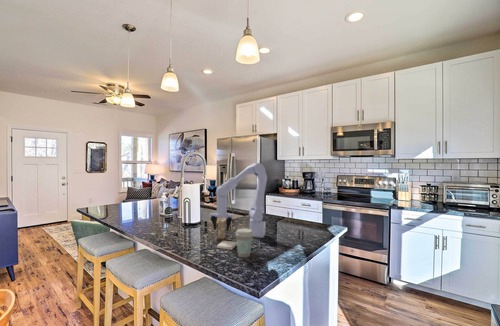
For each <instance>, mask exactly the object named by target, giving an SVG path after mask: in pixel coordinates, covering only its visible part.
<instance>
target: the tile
mask: <svg viewBox="0 0 500 326" xmlns="http://www.w3.org/2000/svg"><path fill="white" fill-rule="evenodd" d="M235 247H237V241H229V240H222V241H221V242H219V243H218V244H217V246H216V248H217V249H223V250H233V249H234V248H235Z"/></svg>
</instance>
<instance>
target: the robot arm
mask: <svg viewBox="0 0 500 326" xmlns="http://www.w3.org/2000/svg"><path fill="white" fill-rule="evenodd" d="M248 175H255V176H256V177H257V179H258V180H257V185H256V190H255V195H254V199H253V200H254V201H253V204H252V205H251V208H250V209H249V212H248V216H249V218H250V219H249V229H251V230H252V232H253V236H252V238H262V239H263V238H264V237H265V235H266V221H264V220H263V218H264V214H263V212H264V211H263V210H264V209H263V202H264V197H265V191H266V187H267V186H266V185H267V181H268V175H267V172H266V167H265V166H264V165H263V164H262V163H261V162H253V163H251V164H250V165H248V166H246V168H244V169H243V170H242V171H241V172H240V173H239V174H237V175H235V177H229V178H228V179H227V181H225V182H224V183H221V185H219V186H218V187H217V188H216V190H215V193H216V212H210V213H209V215H208V216H209V218H210V221H211V223H212V226H213V230H214V231H215V230H218V224H217V223H218V222H217V221H218V218H221V219H222V218H223V219H225V224H226V227H225V231H227V232H228V231H229V229H230V227H231V223H232V220H233V219H234V218H235V215H234V214H232V213H227V210H228V209H227V208H228V207H227V206H228V199H227V196H228V194H229V192H231V191H232V190H233V189H235V188H236V187H237V186H238V185H239V182H240V181H242V180H243V179H244V178H246V177H247V176H248Z"/></svg>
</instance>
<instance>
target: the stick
mask: <svg viewBox="0 0 500 326" xmlns="http://www.w3.org/2000/svg"><path fill="white" fill-rule="evenodd" d="M217 221H218V222H217V223H218V224H217V239H221V240H223V239H225V236H226V235H225V234H226V219H225V220H223V219H221V220H217Z"/></svg>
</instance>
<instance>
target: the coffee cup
mask: <svg viewBox="0 0 500 326" xmlns="http://www.w3.org/2000/svg"><path fill="white" fill-rule="evenodd" d="M234 235H235V237H236V238H235V239H236V242H237V245H236V249H237V256H238V257H239V258H244V259H245V258H249V257H250V256H251V249H252V242H253V241H252V240H253V237H252V236H253V232H252V230H251V229H250V228H248V227H247V228H246V227H245V228H244V227H243V228H237V229H236V232H235V234H234Z"/></svg>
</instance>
